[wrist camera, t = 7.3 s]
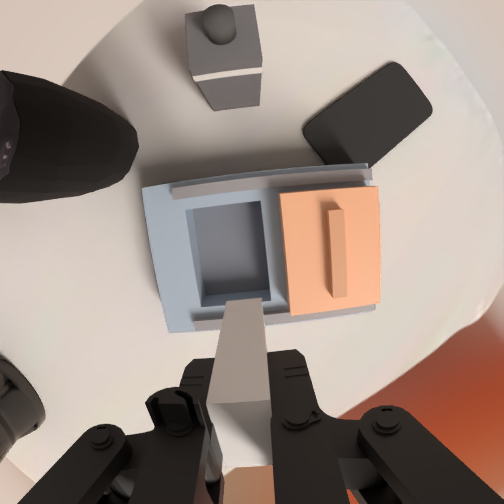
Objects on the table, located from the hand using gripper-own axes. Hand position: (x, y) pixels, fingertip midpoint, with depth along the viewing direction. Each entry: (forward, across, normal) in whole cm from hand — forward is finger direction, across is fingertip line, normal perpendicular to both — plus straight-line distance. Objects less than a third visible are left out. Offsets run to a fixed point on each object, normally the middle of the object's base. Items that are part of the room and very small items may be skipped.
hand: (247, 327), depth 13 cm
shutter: (+14, +7, 0) cm, 15 cm away
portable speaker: (+18, -14, +12) cm, 26 cm away
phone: (+18, +14, +12) cm, 26 cm away
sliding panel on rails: (+18, +1, 0) cm, 18 cm away
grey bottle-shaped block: (+18, 0, +16) cm, 24 cm away
